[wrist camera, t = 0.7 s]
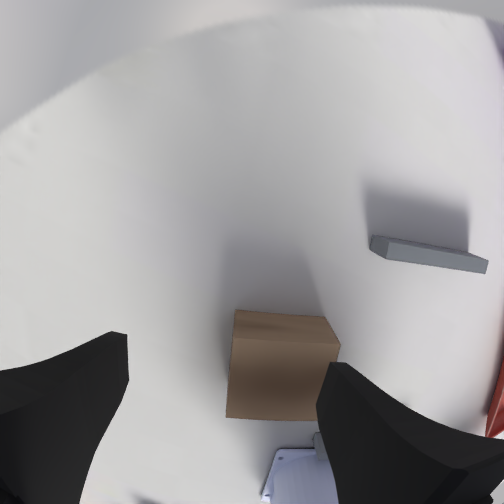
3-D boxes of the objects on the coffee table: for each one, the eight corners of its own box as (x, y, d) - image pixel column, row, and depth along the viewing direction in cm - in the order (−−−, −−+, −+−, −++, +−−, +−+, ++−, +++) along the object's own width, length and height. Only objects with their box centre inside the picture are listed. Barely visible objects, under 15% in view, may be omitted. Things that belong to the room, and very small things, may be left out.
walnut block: (307, 386, 22) (318, 420, 18) (228, 381, 21) (225, 417, 17) (324, 315, 20) (340, 344, 16) (235, 308, 20) (233, 337, 16)
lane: (399, 433, 23) (408, 450, 21) (312, 440, 23) (318, 460, 20) (468, 252, 19) (488, 260, 17) (372, 234, 19) (389, 242, 16)
